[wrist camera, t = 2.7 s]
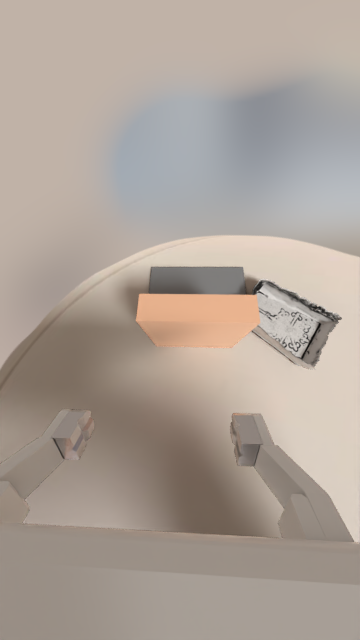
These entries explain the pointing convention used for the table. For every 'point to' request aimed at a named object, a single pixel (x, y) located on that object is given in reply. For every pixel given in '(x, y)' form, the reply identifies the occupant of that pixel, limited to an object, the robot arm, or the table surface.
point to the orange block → (197, 319)
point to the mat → (197, 280)
